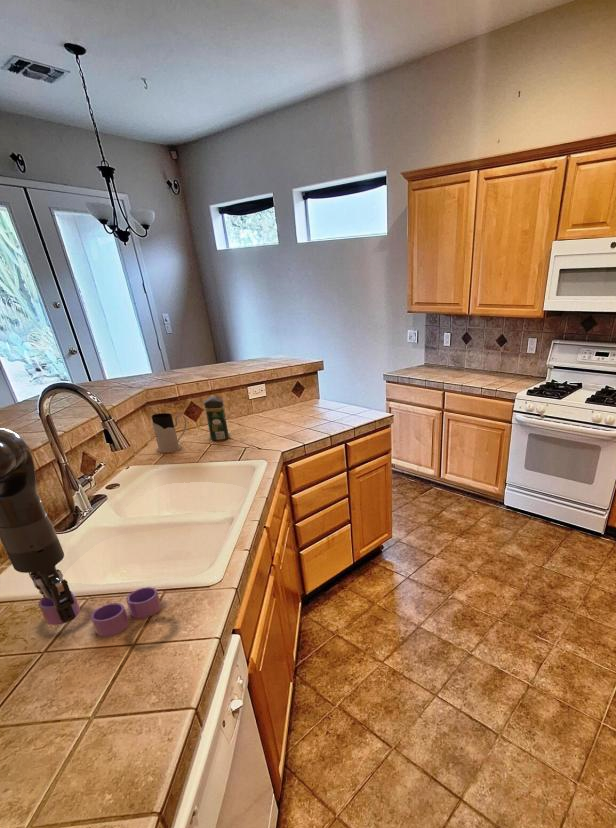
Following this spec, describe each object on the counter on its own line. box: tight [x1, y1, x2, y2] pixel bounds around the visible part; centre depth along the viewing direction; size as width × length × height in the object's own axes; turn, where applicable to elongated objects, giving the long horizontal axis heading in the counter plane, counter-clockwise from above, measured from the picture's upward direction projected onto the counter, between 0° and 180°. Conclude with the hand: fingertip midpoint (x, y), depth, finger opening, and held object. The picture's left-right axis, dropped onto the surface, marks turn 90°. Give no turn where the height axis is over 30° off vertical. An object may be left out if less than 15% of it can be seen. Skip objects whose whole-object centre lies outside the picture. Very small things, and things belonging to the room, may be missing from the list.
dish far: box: [125, 586, 162, 619], centre depth 90 cm, size 6×6×4 cm
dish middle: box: [90, 602, 130, 637], centre depth 85 cm, size 6×6×4 cm
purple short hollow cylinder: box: [37, 590, 81, 626], centre depth 85 cm, size 6×6×4 cm
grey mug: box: [150, 412, 187, 453], centre depth 182 cm, size 9×14×15 cm, turn 146°
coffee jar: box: [203, 396, 230, 442], centre depth 196 cm, size 10×8×19 cm
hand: (62, 613), depth 85 cm, fingers closed on purple short hollow cylinder, 5 cm apart
